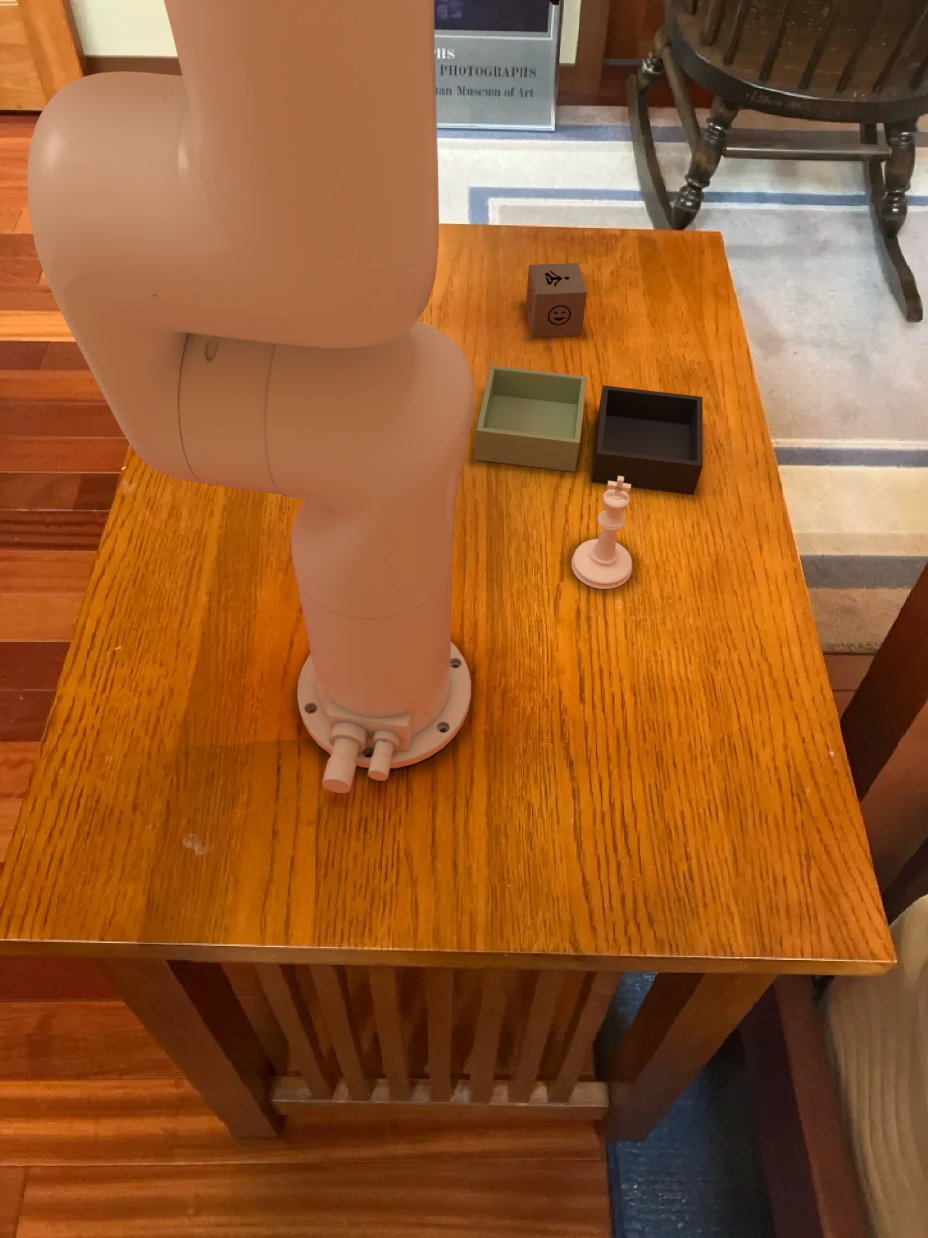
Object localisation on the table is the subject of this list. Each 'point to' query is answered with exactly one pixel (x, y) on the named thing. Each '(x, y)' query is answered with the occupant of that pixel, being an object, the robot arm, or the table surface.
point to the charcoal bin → (649, 439)
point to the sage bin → (531, 418)
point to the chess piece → (606, 544)
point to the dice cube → (555, 300)
